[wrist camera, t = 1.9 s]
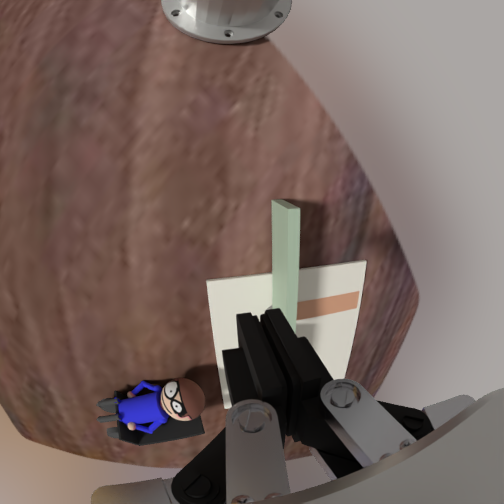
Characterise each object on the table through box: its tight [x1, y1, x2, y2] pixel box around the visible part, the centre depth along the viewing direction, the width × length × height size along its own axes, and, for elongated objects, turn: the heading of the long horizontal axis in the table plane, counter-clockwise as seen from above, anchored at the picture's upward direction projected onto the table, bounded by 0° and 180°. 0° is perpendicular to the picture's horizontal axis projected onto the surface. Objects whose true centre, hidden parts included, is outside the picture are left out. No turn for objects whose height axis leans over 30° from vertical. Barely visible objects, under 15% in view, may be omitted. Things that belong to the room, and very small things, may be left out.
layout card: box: [206, 260, 367, 409], centre depth 32 cm, size 20×18×1 cm
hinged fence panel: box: [272, 199, 300, 336], centre depth 25 cm, size 13×2×4 cm, turn 2°
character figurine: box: [97, 378, 205, 446], centre depth 27 cm, size 8×7×15 cm
